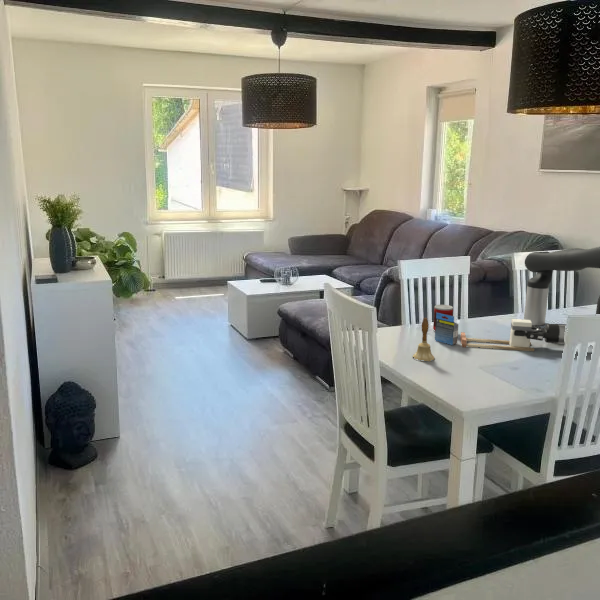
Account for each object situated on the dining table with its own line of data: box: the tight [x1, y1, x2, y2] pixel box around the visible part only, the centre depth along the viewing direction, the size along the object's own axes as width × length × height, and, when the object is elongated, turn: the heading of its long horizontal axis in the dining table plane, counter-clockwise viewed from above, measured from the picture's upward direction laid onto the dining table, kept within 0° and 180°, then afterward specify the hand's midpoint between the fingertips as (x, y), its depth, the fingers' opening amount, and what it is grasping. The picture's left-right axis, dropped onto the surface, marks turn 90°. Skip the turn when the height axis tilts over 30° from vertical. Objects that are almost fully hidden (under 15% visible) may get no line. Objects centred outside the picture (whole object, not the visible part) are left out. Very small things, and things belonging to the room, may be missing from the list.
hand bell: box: [412, 317, 435, 362], centre depth 228 cm, size 8×8×16 cm
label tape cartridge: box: [434, 312, 459, 346], centre depth 247 cm, size 9×4×12 cm, turn 43°
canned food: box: [432, 304, 454, 331], centre depth 263 cm, size 8×8×11 cm
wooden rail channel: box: [459, 331, 535, 352], centre depth 244 cm, size 11×28×3 cm, turn 79°
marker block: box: [508, 318, 532, 347], centre depth 242 cm, size 5×7×11 cm, turn 79°
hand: (513, 331), depth 242 cm, fingers closed on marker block, 4 cm apart
